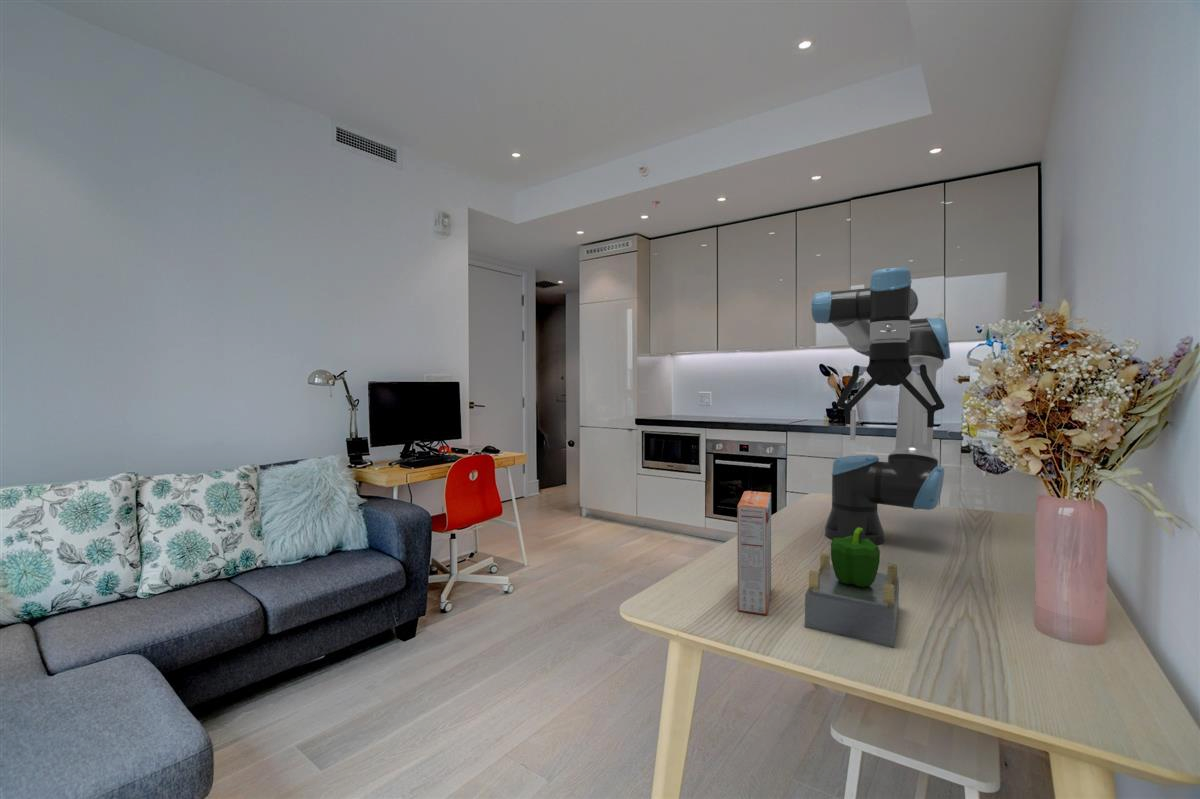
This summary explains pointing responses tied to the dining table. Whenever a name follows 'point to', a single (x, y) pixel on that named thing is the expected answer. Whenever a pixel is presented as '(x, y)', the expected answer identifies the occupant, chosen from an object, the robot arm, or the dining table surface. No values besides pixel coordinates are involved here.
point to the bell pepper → (855, 559)
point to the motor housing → (853, 605)
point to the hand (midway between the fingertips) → (887, 441)
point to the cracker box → (754, 552)
